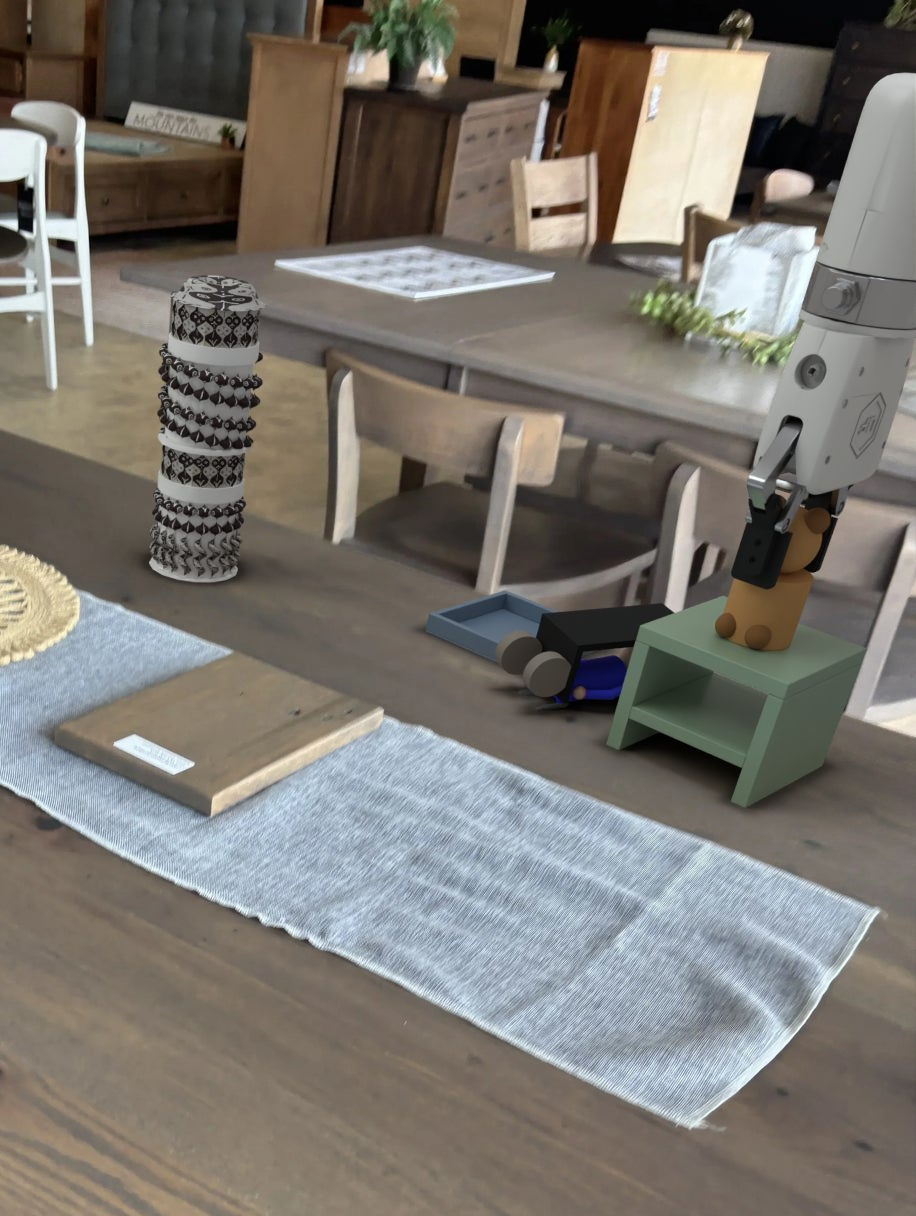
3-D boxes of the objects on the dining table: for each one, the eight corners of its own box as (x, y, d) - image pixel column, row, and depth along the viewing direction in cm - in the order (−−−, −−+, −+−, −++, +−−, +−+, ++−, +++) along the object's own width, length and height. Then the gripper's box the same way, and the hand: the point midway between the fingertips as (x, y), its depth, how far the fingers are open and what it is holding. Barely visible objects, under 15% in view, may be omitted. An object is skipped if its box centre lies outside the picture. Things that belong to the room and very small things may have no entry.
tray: (500, 610, 132) (505, 589, 131) (601, 652, 126) (607, 631, 124) (424, 634, 125) (428, 612, 124) (526, 679, 119) (532, 657, 118)
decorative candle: (143, 549, 137) (163, 266, 123) (238, 556, 138) (269, 275, 123) (144, 582, 129) (165, 285, 115) (244, 590, 130) (277, 295, 116)
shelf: (686, 712, 116) (723, 595, 111) (821, 769, 110) (868, 648, 104) (604, 747, 109) (639, 625, 103) (743, 811, 102) (789, 684, 97)
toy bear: (740, 617, 107) (783, 485, 101) (803, 641, 104) (851, 506, 98) (701, 632, 103) (743, 497, 98) (765, 657, 100) (812, 519, 95)
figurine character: (525, 741, 112) (689, 710, 116) (537, 652, 108) (707, 623, 111) (486, 704, 117) (643, 676, 121) (496, 618, 113) (659, 592, 116)
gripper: (860, 323, 83) (762, 615, 94) (977, 305, 94) (877, 570, 104) (746, 297, 88) (665, 579, 98) (870, 283, 98) (784, 539, 108)
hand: (775, 572), depth 101 cm, fingers open, 5 cm apart
